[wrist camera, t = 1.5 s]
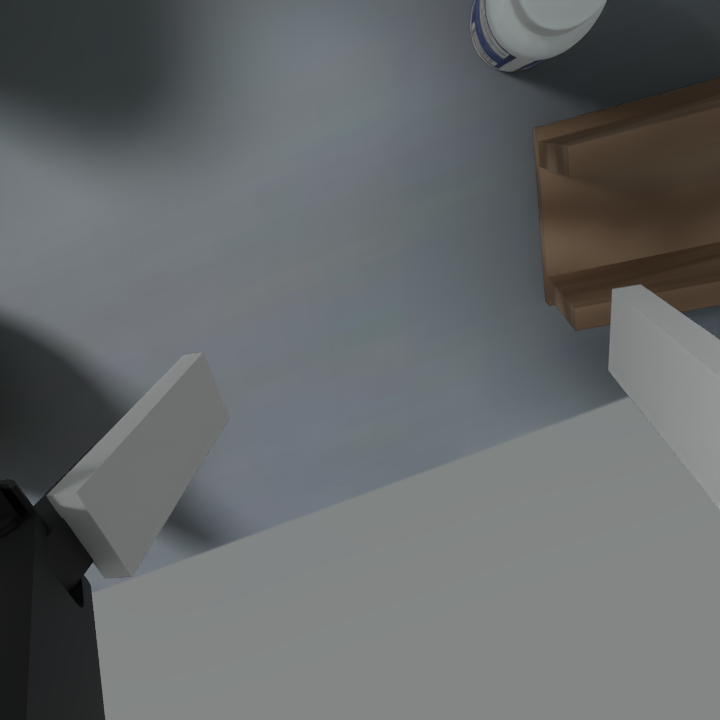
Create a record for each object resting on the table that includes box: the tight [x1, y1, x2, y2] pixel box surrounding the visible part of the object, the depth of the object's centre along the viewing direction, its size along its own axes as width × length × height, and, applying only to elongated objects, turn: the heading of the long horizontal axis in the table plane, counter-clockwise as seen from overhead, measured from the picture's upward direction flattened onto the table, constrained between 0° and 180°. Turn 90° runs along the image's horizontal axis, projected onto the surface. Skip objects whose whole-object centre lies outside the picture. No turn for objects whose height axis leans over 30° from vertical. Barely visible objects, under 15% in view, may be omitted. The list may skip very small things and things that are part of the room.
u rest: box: [533, 78, 720, 331], centre depth 26 cm, size 12×13×7 cm
